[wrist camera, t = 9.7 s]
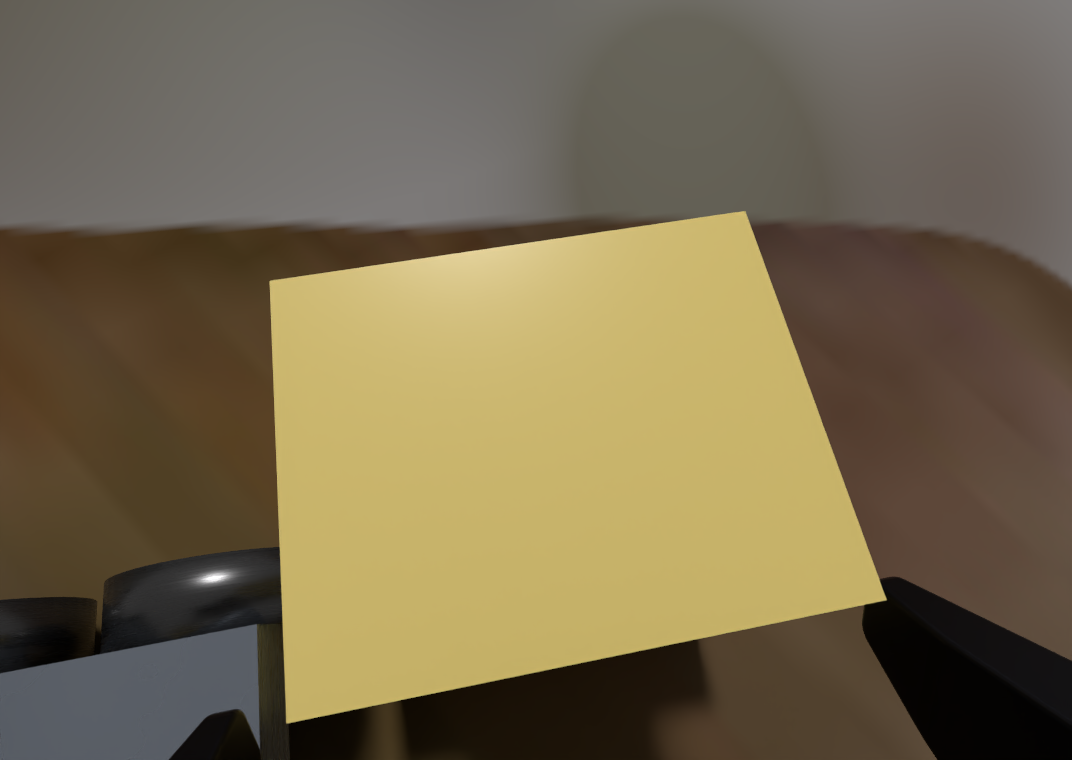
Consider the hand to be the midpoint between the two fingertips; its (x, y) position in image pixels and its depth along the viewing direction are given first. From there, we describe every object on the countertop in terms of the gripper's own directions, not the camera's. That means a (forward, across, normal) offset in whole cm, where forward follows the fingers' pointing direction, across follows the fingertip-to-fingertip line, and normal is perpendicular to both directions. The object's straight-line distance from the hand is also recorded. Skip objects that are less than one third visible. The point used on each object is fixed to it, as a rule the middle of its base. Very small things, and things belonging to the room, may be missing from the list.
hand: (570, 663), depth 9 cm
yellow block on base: (+8, 0, +4) cm, 9 cm away
